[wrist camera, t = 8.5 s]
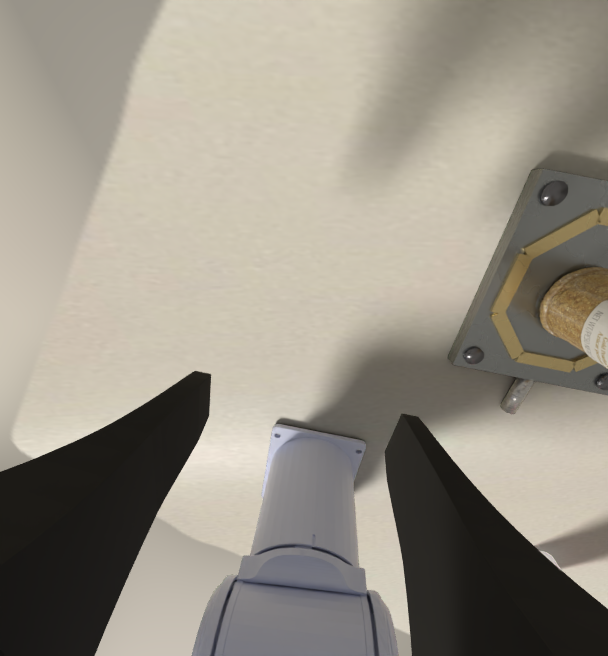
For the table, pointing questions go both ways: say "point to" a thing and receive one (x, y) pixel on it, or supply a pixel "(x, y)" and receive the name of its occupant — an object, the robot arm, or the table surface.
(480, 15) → the table surface
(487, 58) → the table surface
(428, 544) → the robot arm
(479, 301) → the octagon fixture plate
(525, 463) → the table surface
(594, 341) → the sprinkles bottle
